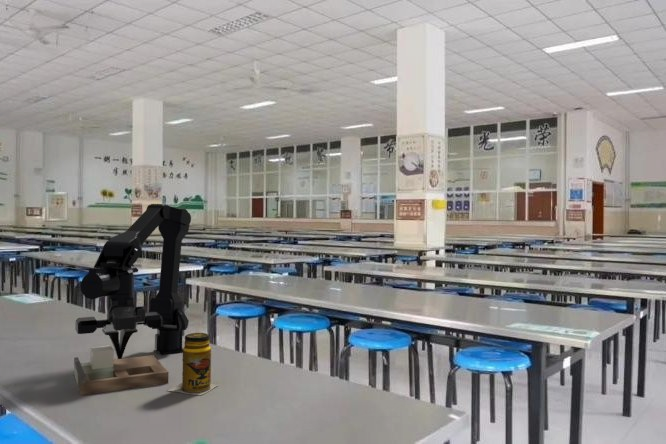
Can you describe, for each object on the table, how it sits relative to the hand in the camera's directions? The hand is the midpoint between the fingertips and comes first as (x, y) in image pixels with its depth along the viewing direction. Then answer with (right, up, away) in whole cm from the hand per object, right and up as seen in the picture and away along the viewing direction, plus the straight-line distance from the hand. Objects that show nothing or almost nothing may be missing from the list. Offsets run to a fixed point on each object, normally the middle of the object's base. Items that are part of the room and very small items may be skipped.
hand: (119, 358), depth 129 cm
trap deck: (+2, -4, -3) cm, 5 cm away
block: (-3, -1, -2) cm, 4 cm away
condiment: (+20, -5, -9) cm, 22 cm away
